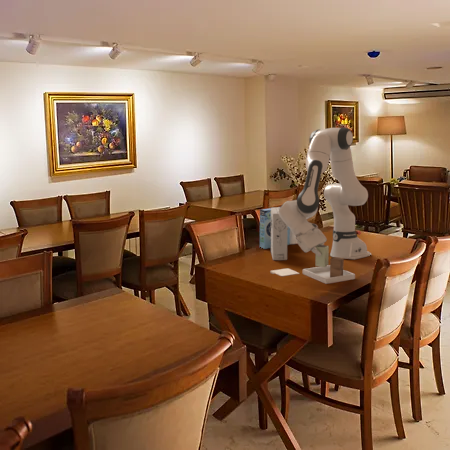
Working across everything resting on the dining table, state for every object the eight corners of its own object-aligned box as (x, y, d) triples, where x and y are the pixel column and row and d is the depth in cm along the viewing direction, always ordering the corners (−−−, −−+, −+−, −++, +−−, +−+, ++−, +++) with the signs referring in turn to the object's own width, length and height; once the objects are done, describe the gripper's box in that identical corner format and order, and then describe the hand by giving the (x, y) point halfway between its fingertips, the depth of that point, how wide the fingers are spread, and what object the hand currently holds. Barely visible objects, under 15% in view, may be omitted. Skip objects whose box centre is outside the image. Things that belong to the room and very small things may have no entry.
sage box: (319, 263, 236) (319, 244, 234) (328, 264, 234) (328, 245, 232) (315, 265, 233) (315, 246, 231) (324, 267, 230) (324, 247, 228)
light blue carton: (284, 243, 305) (285, 206, 301) (290, 244, 301) (290, 207, 297) (259, 247, 295) (259, 209, 290) (264, 249, 290) (264, 210, 286)
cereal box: (287, 260, 265) (287, 213, 261) (272, 260, 266) (273, 213, 261) (284, 250, 287) (284, 207, 282) (270, 250, 287) (270, 207, 282)
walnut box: (333, 275, 233) (334, 256, 231) (343, 277, 230) (343, 258, 229) (329, 278, 229) (330, 258, 228) (339, 279, 227) (339, 260, 225)
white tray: (330, 271, 244) (330, 265, 243) (354, 280, 228) (355, 274, 227) (302, 275, 237) (302, 269, 236) (326, 285, 221) (326, 278, 220)
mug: (294, 239, 315) (295, 221, 313) (304, 242, 308) (305, 222, 306) (281, 242, 308) (281, 223, 306) (291, 244, 301) (291, 225, 299)
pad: (288, 270, 246) (288, 268, 246) (299, 275, 237) (299, 273, 237) (270, 272, 242) (270, 270, 242) (281, 278, 233) (281, 275, 233)
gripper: (298, 231, 225) (318, 255, 222) (317, 223, 242) (336, 245, 238) (289, 239, 229) (309, 263, 225) (308, 231, 245) (327, 253, 242)
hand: (323, 254), depth 232 cm, fingers closed on sage box, 4 cm apart
